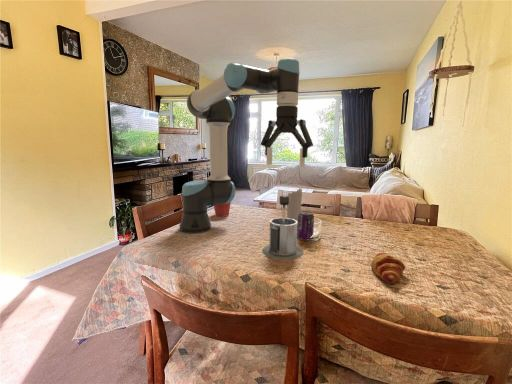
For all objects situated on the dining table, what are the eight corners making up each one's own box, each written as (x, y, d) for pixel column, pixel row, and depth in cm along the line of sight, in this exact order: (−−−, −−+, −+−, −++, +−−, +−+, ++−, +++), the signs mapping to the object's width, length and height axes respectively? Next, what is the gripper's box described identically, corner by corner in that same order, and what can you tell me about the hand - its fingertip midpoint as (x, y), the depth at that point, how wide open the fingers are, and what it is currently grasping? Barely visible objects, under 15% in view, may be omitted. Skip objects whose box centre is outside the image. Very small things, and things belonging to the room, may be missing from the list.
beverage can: (312, 241, 123) (314, 215, 120) (296, 240, 124) (297, 214, 122) (312, 236, 129) (314, 211, 127) (297, 235, 131) (298, 210, 129)
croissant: (373, 268, 106) (364, 248, 106) (401, 259, 102) (391, 239, 102) (380, 295, 86) (369, 272, 86) (415, 286, 82) (403, 261, 82)
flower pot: (210, 216, 161) (210, 200, 159) (216, 212, 171) (216, 196, 170) (228, 217, 159) (228, 201, 157) (233, 213, 170) (233, 197, 168)
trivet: (254, 254, 107) (254, 252, 107) (275, 242, 120) (275, 241, 120) (291, 265, 99) (291, 263, 98) (309, 251, 112) (310, 249, 111)
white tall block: (280, 220, 156) (281, 184, 152) (302, 224, 148) (304, 187, 144) (273, 223, 150) (274, 186, 147) (296, 227, 142) (298, 189, 139)
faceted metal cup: (260, 253, 106) (261, 223, 104) (277, 244, 117) (278, 216, 115) (286, 260, 100) (287, 228, 98) (301, 250, 111) (302, 220, 109)
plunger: (268, 245, 108) (269, 196, 104) (278, 239, 114) (280, 193, 111) (287, 249, 103) (288, 199, 100) (296, 243, 110) (298, 196, 107)
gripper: (252, 106, 104) (251, 164, 107) (316, 102, 90) (312, 168, 94) (263, 108, 110) (262, 163, 114) (324, 105, 96) (320, 167, 100)
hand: (285, 165), depth 104 cm, fingers open, 13 cm apart
